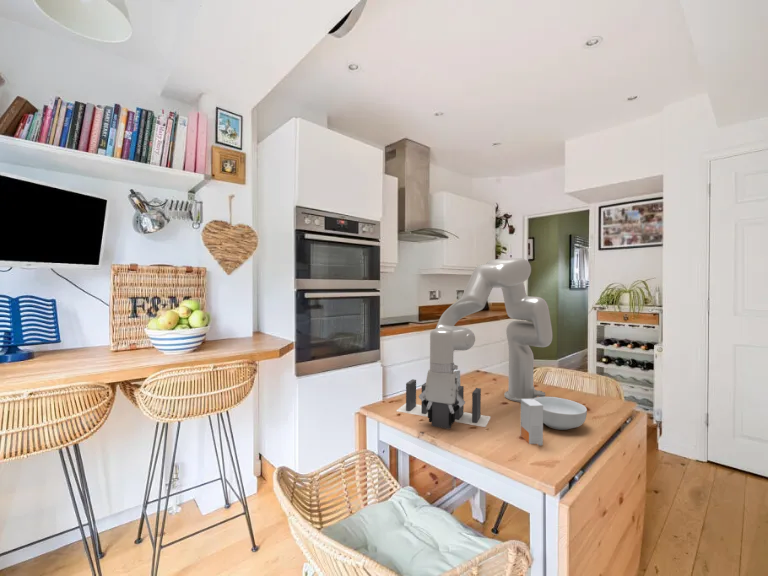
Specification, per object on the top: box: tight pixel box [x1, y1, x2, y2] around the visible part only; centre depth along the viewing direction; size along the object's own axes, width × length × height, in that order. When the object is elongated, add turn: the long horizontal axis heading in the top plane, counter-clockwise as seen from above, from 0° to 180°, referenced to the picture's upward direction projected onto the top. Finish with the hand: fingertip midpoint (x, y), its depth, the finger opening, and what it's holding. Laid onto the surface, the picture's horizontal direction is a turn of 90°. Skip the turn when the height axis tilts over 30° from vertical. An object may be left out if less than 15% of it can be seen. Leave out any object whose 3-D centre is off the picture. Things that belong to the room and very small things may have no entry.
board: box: [395, 402, 492, 428], centre depth 128 cm, size 32×10×1 cm, turn 64°
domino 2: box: [421, 382, 428, 414], centre depth 131 cm, size 2×6×10 cm, turn 154°
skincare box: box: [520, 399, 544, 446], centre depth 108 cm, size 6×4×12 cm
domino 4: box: [455, 385, 465, 420], centre depth 125 cm, size 2×6×10 cm, turn 154°
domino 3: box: [431, 402, 452, 430], centre depth 117 cm, size 2×6×10 cm, turn 63°
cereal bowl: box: [534, 396, 588, 431], centre depth 120 cm, size 17×17×7 cm
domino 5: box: [471, 387, 482, 423], centre depth 123 cm, size 2×6×10 cm, turn 154°
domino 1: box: [405, 379, 417, 411], centre depth 133 cm, size 2×6×10 cm, turn 154°
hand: (441, 421), depth 117 cm, fingers closed on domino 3, 5 cm apart
